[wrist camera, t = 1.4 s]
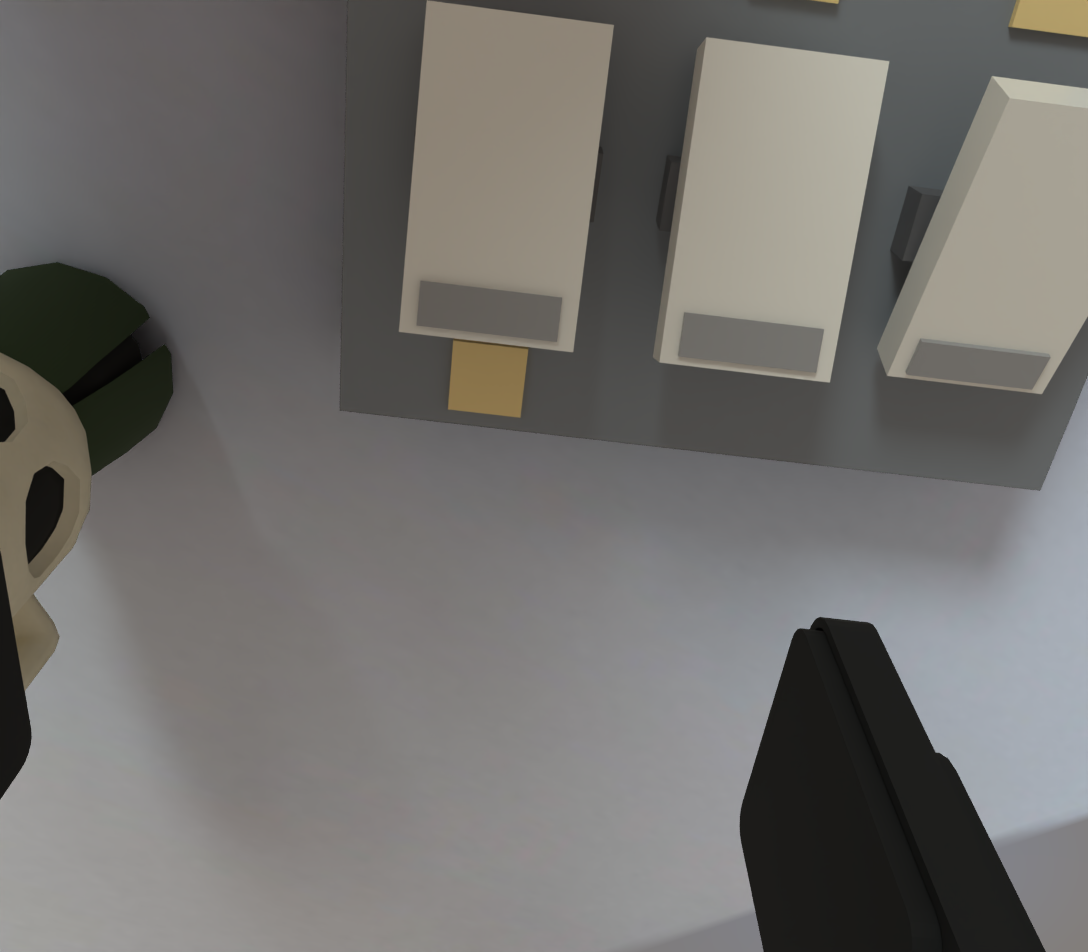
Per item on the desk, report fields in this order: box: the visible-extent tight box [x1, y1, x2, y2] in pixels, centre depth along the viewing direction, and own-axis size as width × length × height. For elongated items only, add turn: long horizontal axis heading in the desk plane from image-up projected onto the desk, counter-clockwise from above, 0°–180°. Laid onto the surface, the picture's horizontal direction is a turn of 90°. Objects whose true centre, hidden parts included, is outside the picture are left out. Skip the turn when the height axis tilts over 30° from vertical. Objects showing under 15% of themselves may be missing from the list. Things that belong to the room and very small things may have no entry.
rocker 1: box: [399, 0, 614, 352], centre depth 22 cm, size 7×4×1 cm, turn 174°
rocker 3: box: [877, 76, 1088, 394], centre depth 22 cm, size 7×4×1 cm, turn 173°
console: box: [340, 0, 1088, 491], centre depth 25 cm, size 14×20×5 cm
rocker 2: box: [653, 37, 889, 383], centre depth 22 cm, size 7×4×1 cm, turn 174°
